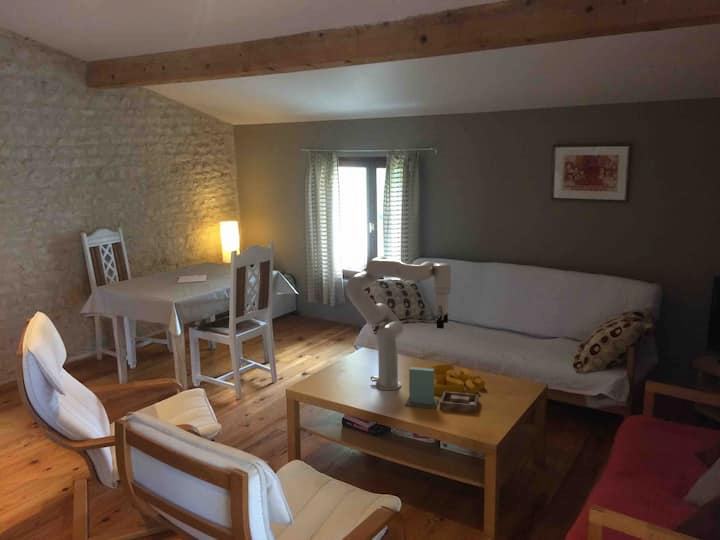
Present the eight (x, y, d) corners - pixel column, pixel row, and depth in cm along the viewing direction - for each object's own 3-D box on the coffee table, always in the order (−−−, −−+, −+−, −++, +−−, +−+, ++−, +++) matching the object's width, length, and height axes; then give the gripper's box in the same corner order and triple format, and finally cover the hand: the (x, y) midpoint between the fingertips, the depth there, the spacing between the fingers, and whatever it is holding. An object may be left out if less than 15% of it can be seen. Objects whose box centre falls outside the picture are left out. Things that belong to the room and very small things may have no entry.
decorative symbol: (426, 363, 321) (484, 366, 315) (426, 372, 322) (484, 375, 316) (421, 384, 292) (485, 387, 287) (421, 394, 293) (484, 398, 288)
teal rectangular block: (409, 401, 282) (409, 369, 279) (410, 399, 285) (410, 366, 282) (433, 404, 279) (433, 371, 276) (434, 401, 282) (434, 368, 279)
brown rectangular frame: (439, 409, 275) (439, 402, 274) (443, 398, 287) (443, 391, 286) (475, 413, 271) (475, 405, 270) (478, 401, 283) (478, 394, 282)
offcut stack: (449, 408, 276) (449, 398, 276) (450, 405, 280) (450, 395, 279) (474, 410, 274) (474, 400, 273) (474, 407, 277) (474, 397, 276)
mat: (404, 406, 279) (404, 404, 279) (409, 397, 289) (409, 396, 289) (435, 409, 275) (435, 407, 275) (438, 400, 285) (438, 399, 285)
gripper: (438, 285, 292) (438, 320, 296) (430, 293, 276) (430, 329, 280) (453, 286, 290) (453, 321, 293) (446, 294, 274) (446, 331, 277)
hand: (442, 325), depth 287 cm, fingers open, 9 cm apart
